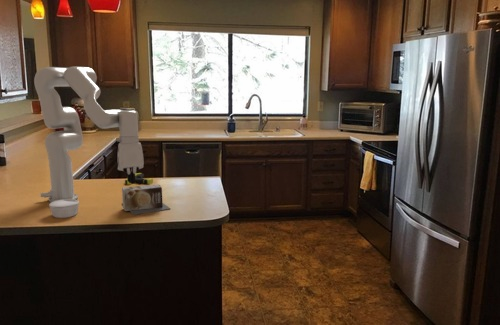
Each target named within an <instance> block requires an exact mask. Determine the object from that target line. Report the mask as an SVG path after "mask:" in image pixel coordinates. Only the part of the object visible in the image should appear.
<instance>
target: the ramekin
mask: <svg viewBox="0 0 500 325" xmlns="http://www.w3.org/2000/svg"><path fill="white" fill-rule="evenodd" d="M79 205H80V201H79V200H77V199H76V200H73V199H64V200H57V201H53V202H50V203H49V204H48V207H49V209H50V212H51V215H52V216H53V217H54V218H56V219H66V218H72V217H74V216H76V215H77V214H78V212H79Z"/></svg>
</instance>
